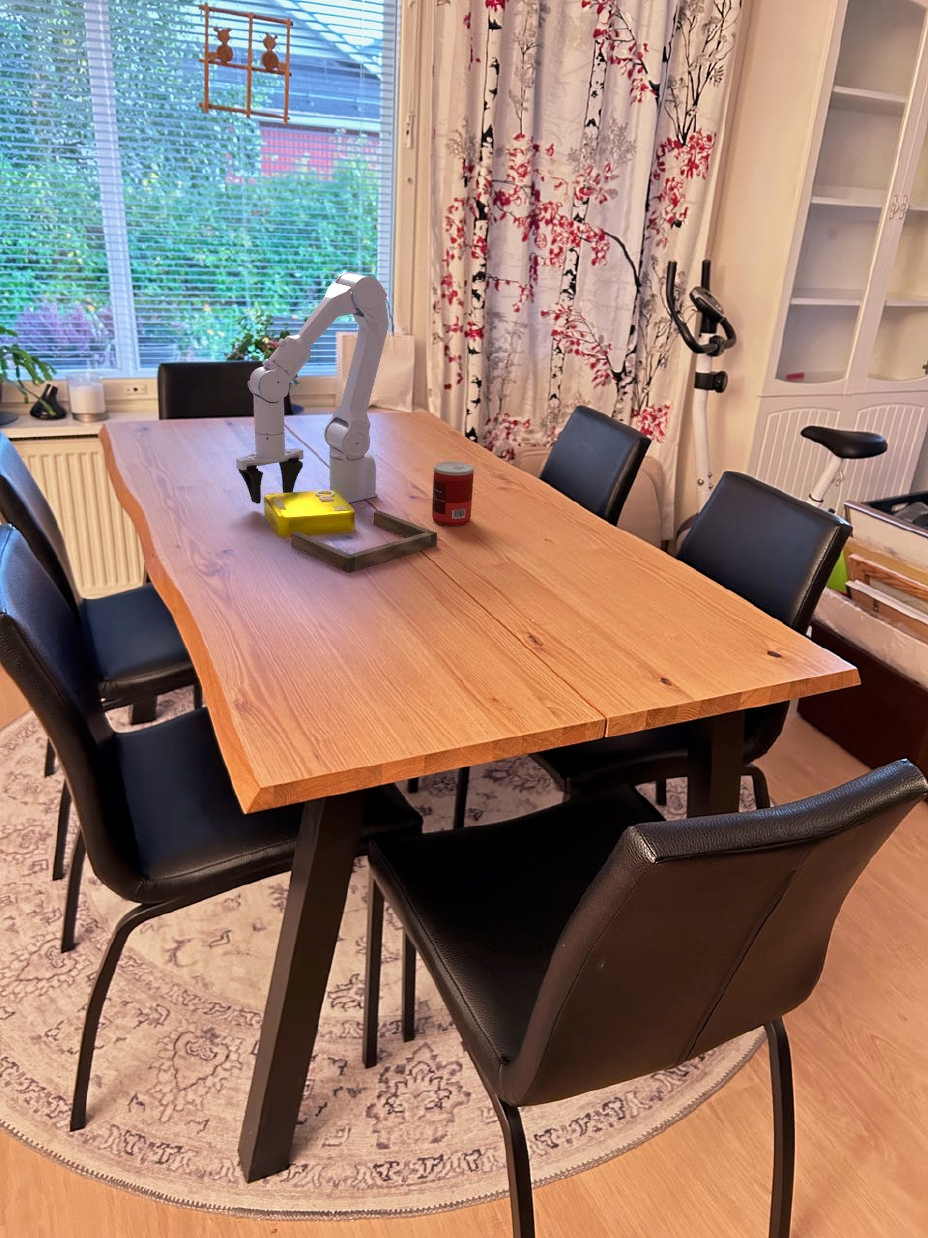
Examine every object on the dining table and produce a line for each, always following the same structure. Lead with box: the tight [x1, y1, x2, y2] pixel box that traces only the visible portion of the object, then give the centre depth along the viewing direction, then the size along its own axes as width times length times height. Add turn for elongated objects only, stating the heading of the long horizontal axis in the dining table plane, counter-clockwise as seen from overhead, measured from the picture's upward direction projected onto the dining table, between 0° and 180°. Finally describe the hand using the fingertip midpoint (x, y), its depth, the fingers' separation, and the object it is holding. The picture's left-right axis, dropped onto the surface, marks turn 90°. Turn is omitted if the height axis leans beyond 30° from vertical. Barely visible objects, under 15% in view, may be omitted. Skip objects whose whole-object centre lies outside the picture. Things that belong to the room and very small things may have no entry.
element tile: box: [263, 489, 356, 538], centre depth 172 cm, size 15×15×5 cm
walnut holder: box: [290, 510, 438, 573], centre depth 163 cm, size 21×16×2 cm
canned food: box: [431, 461, 475, 527], centre depth 176 cm, size 8×8×11 cm
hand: (272, 498), depth 180 cm, fingers open, 7 cm apart
